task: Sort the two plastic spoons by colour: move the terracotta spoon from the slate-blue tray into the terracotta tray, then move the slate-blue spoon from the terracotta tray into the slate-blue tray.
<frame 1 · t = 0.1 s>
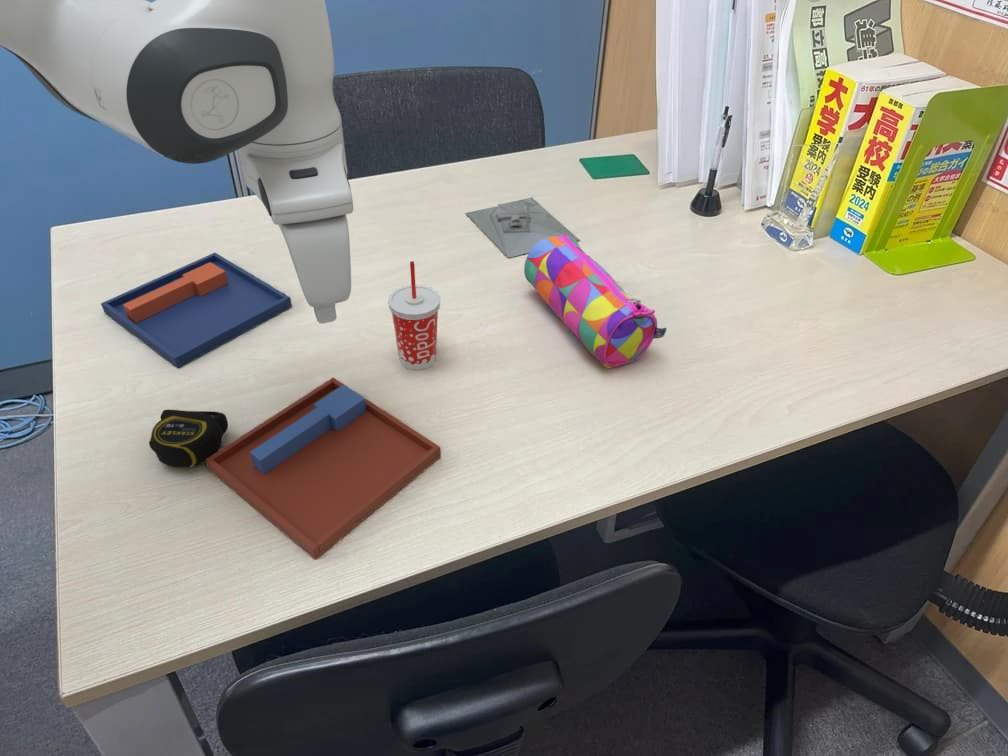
hand: (316, 291, 70), 17 cm above the table, tool pointing down, fingers open, 8 cm apart
blue spoon: (315, 431, 78), point 1 cm above the table, touching rust tray
pencil case: (585, 325, 96), on the table
rust tray: (326, 463, 76), on the table
rust spoon: (183, 296, 97), point 1 cm above the table, touching blue tray
beverage cup: (417, 359, 89), on the table
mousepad: (496, 217, 118), on the table
blue tray: (199, 310, 95), on the table
tape measure: (191, 447, 77), on the table
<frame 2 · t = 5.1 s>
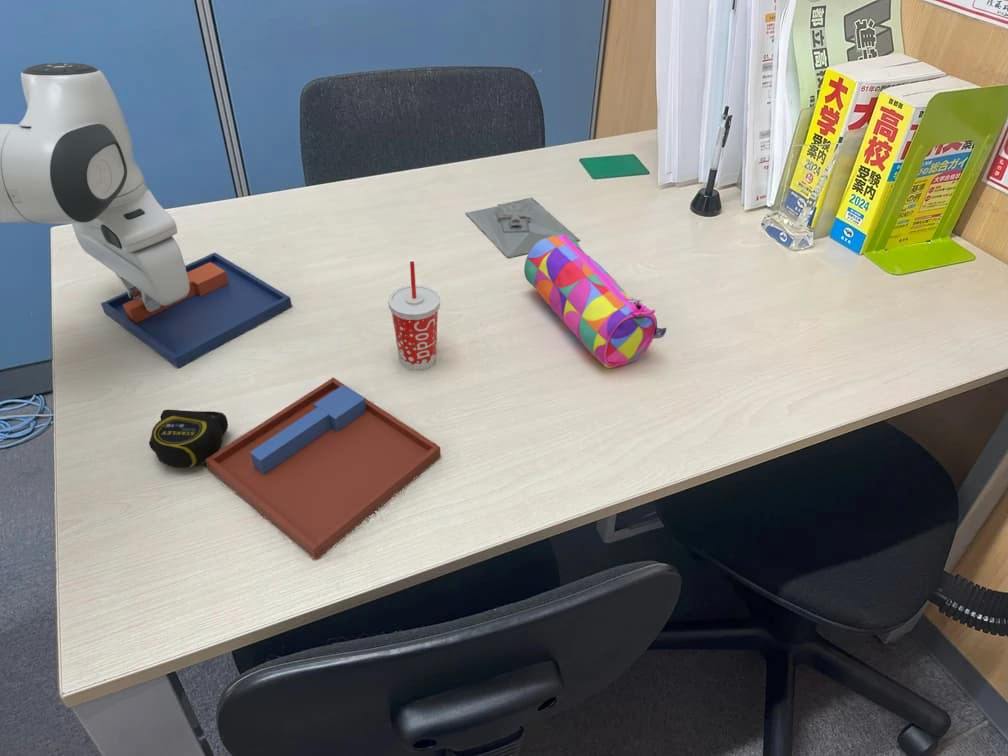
hand: (145, 303, 93), 2 cm above the table, tool pointing down, fingers closed on rust spoon, 2 cm apart
rust spoon: (183, 296, 97), point 1 cm above the table, touching blue tray, gripper
everything else where it was.
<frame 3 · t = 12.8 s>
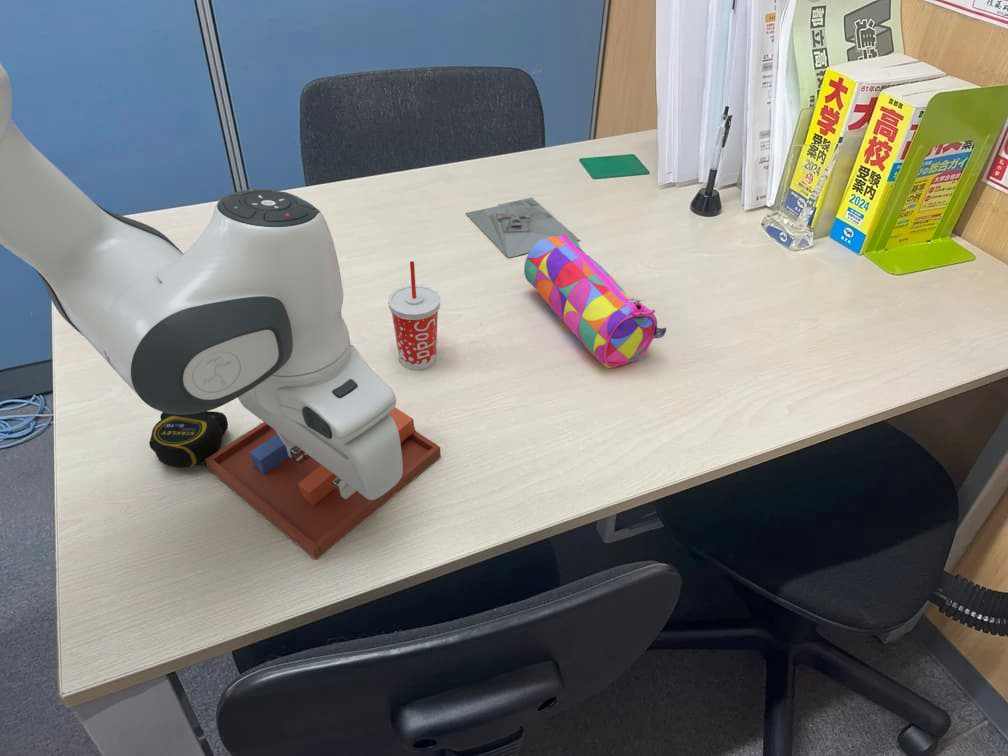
hand: (323, 474, 71), 3 cm above the table, tool pointing down, fingers open, 5 cm apart
rust spoon: (363, 455, 75), point 1 cm above the table, touching rust tray
everything else where it was.
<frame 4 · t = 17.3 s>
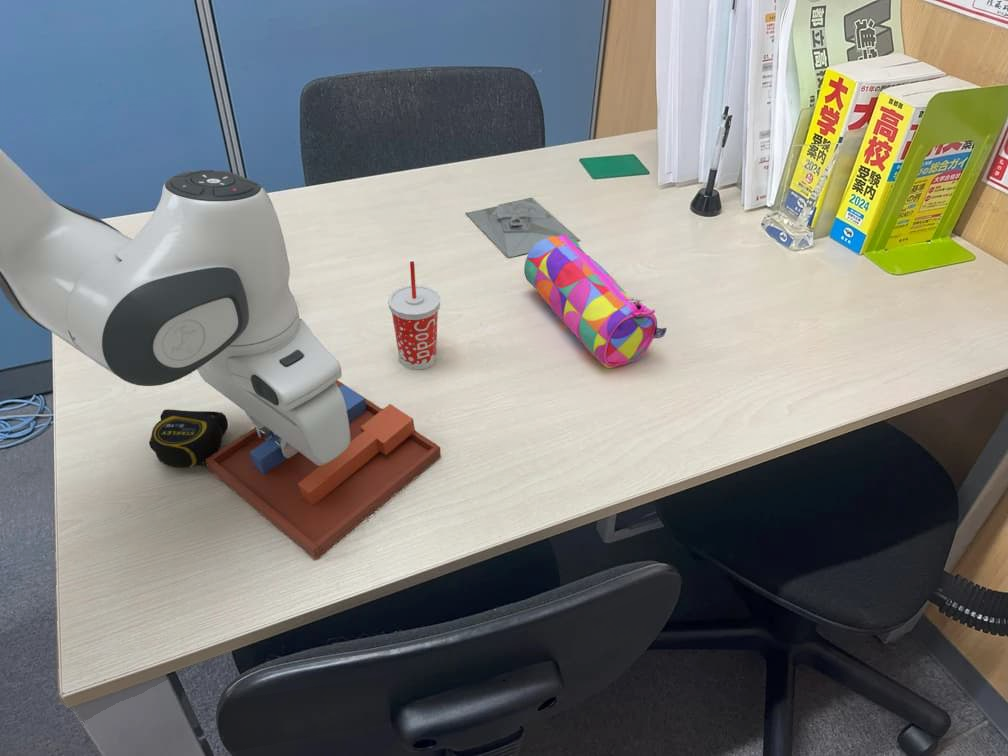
hand: (279, 444, 74), 2 cm above the table, tool pointing down, fingers closed on blue spoon, 2 cm apart
blue spoon: (315, 431, 78), point 1 cm above the table, touching gripper, rust tray
everything else where it was.
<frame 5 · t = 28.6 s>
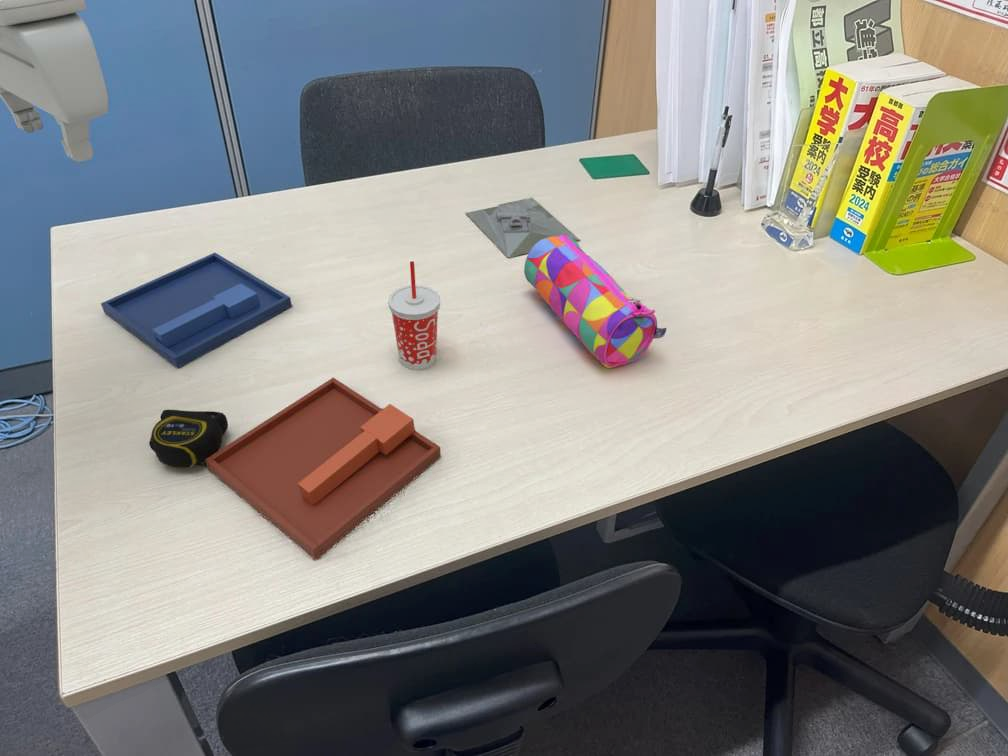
hand: (55, 143, 65), 29 cm above the table, tool pointing down, fingers open, 8 cm apart
blue spoon: (214, 319, 93), point 1 cm above the table, touching blue tray
everything else where it was.
at the end: rust spoon inside the target area on the rust tray (4.0 cm from its centre), point 1.2 cm above the rust tray's base; blue spoon inside the target area on the blue tray (4.1 cm from its centre), point 0.6 cm above the blue tray's base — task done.
